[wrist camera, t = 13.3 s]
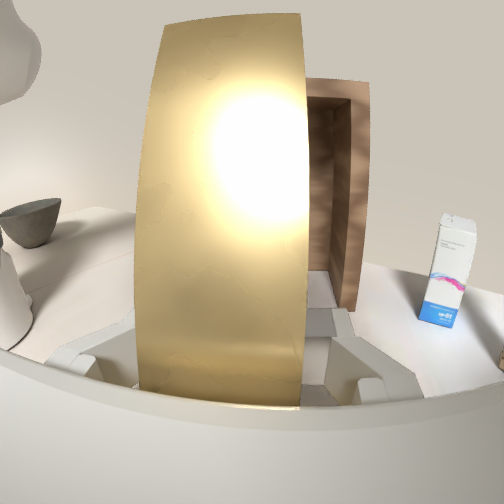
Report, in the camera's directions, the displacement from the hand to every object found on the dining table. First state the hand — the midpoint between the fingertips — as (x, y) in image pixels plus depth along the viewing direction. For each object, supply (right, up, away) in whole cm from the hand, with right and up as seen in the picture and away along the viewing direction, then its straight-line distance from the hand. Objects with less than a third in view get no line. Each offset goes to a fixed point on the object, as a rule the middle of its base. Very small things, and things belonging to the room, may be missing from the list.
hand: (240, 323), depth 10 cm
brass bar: (0, -3, -4) cm, 5 cm away
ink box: (+25, -5, +24) cm, 35 cm away
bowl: (-54, +4, +53) cm, 76 cm away
